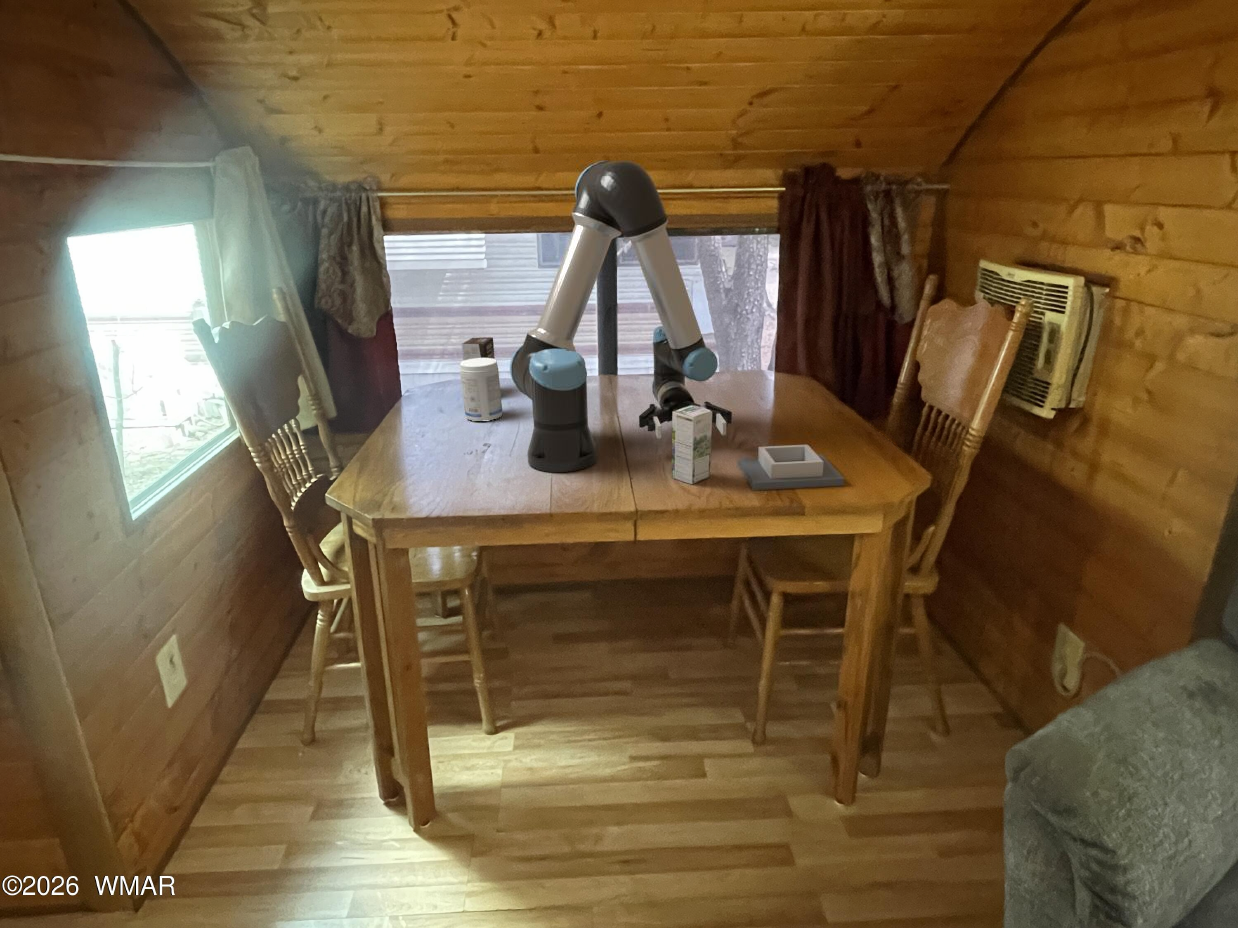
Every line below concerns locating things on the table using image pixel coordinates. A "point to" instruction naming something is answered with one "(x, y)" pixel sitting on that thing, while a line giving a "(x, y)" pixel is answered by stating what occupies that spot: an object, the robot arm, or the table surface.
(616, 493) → the table surface
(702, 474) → the syrup box
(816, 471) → the socket board
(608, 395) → the table surface
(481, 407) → the supplement tub
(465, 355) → the coffee box
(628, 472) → the table surface
